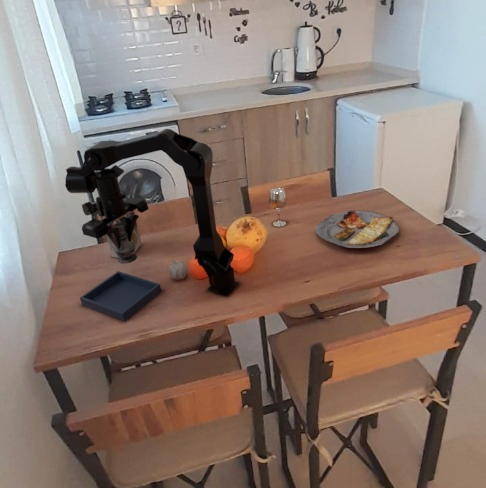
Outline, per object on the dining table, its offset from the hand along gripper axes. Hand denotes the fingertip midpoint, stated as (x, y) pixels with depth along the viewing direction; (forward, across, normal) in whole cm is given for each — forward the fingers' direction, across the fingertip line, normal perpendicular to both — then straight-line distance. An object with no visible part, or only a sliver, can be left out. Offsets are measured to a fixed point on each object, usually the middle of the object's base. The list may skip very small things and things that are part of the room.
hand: (123, 244), depth 128 cm
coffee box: (+13, -13, -16) cm, 24 cm away
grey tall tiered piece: (+5, 0, 0) cm, 5 cm away
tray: (+13, +7, +2) cm, 15 cm away
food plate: (+13, -52, +46) cm, 71 cm away
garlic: (+13, -8, +10) cm, 18 cm away
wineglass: (+13, -48, +20) cm, 54 cm away
